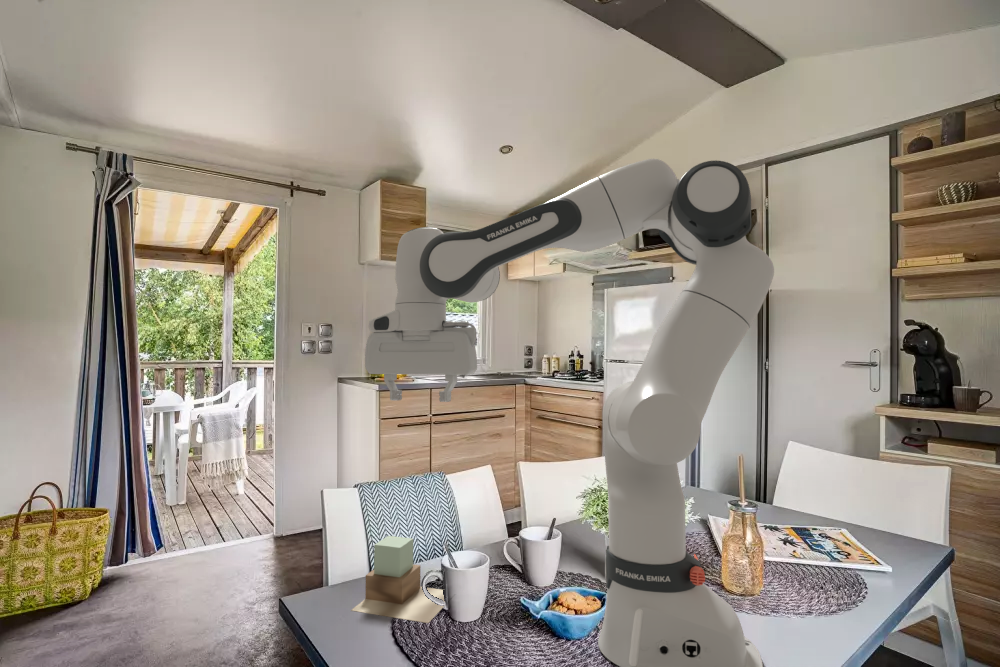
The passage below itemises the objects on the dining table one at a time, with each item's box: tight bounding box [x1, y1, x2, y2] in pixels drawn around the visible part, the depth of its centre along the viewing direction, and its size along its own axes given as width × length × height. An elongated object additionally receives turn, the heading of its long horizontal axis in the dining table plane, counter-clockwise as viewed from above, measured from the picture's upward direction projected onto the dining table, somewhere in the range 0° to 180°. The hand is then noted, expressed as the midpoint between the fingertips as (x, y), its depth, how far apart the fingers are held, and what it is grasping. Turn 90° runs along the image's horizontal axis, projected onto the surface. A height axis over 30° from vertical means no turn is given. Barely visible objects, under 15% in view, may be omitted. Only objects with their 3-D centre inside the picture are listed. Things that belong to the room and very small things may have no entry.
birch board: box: [350, 586, 445, 624], centre depth 94 cm, size 14×12×1 cm
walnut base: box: [364, 563, 421, 604], centre depth 98 cm, size 7×7×4 cm
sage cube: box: [373, 535, 414, 577], centre depth 98 cm, size 5×5×5 cm
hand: (420, 400), depth 96 cm, fingers open, 8 cm apart
